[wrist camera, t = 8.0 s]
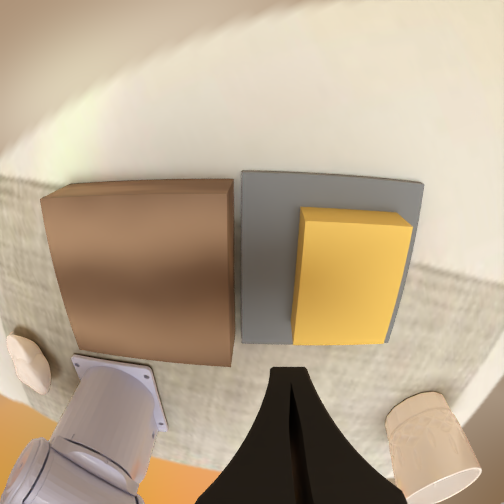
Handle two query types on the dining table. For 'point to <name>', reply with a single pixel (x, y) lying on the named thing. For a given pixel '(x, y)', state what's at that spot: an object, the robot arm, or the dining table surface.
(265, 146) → the dining table surface
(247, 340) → the mat
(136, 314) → the brown cuboid
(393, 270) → the yellow cuboid
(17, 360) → the dumpling
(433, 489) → the white cup
